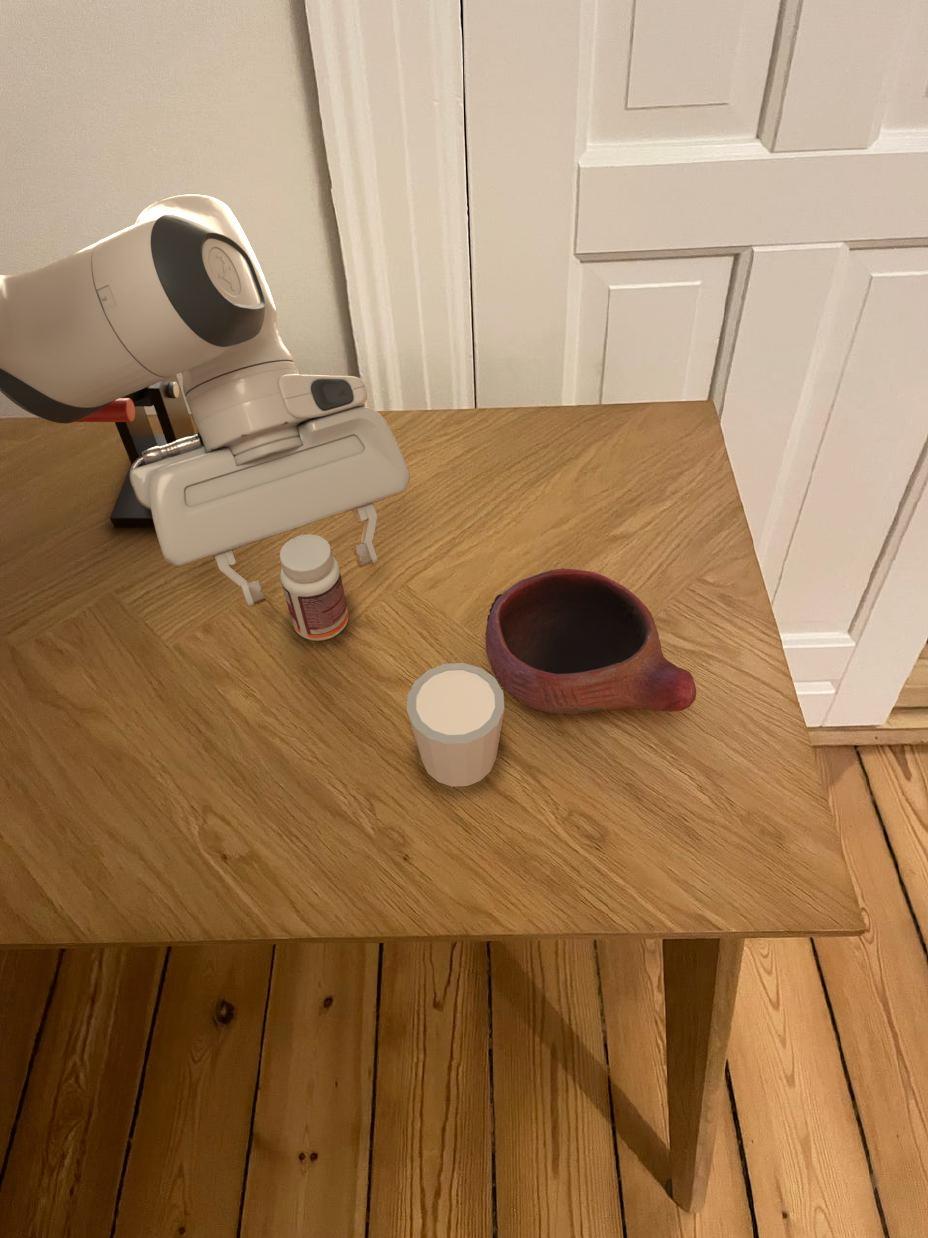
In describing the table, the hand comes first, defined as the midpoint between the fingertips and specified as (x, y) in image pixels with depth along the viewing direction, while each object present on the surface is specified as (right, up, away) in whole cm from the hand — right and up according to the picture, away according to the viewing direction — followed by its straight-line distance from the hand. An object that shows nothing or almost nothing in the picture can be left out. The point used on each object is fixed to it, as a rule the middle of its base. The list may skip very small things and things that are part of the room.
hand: (313, 584), depth 75 cm
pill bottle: (0, -3, +4) cm, 5 cm away
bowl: (+22, -8, 0) cm, 23 cm away
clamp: (-16, +10, +16) cm, 25 cm away
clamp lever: (-16, +14, +3) cm, 22 cm away
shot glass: (+12, -13, -4) cm, 18 cm away
